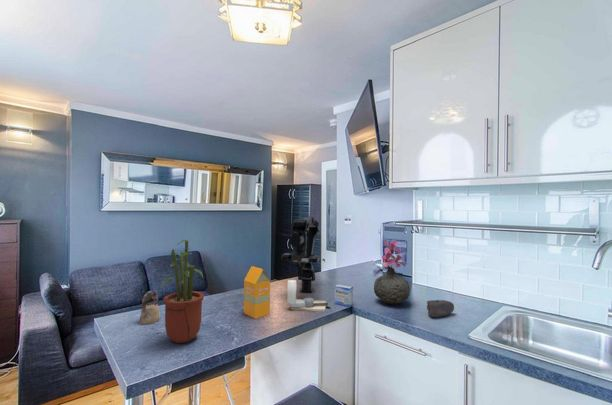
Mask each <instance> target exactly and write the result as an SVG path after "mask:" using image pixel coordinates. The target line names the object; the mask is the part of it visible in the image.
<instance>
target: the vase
mask: <svg viewBox="0 0 612 405" xmlns="http://www.w3.org/2000/svg"><path fill="white" fill-rule="evenodd" d="M399 243H400V241H395V240H393V241H392V242H391V243H389V242H388V241H387V240H384V241H383V242H382V244H384V245H386V247H385V248H384V255H382V256H381V259H382V260H383V261H384V262H382V266H383V267H384V268H382V269H379V270H377V271H376V272H375V273H374V275H373V277H375V276H376V275H377V274H378V273H380V271H382V270H383V269H385V270H386V272H385V273H384V274H382V275H380V276H378V277H377V278H376V279H375V280H374V284H373V291H374V294H375V296H376V297H377V298H378V299H379V300H381V301H382V302H384V304H386V305H389V306H398V305H399V304H400V303H403V302H404V301H406V300H408V299H409V297H410V295H411V294H410V293H411V286H410V283H409V281H408V280H407V279H406V278H404V277H402V276H401V275H399V274H397V273H396V270H395V269H396V268H400V267H401V265H402V266H403V267H404V268H405V267H406V262H403V261H402V259H403V256H402V255H403V253H402V251H401V249H400V248H399V247H396V246H397V245H398V244H399ZM395 252H398V253H397V254H396V256H395V255H394V253H395ZM394 265H395V267H394V268H395V269H394V268H393V266H394Z"/></svg>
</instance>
